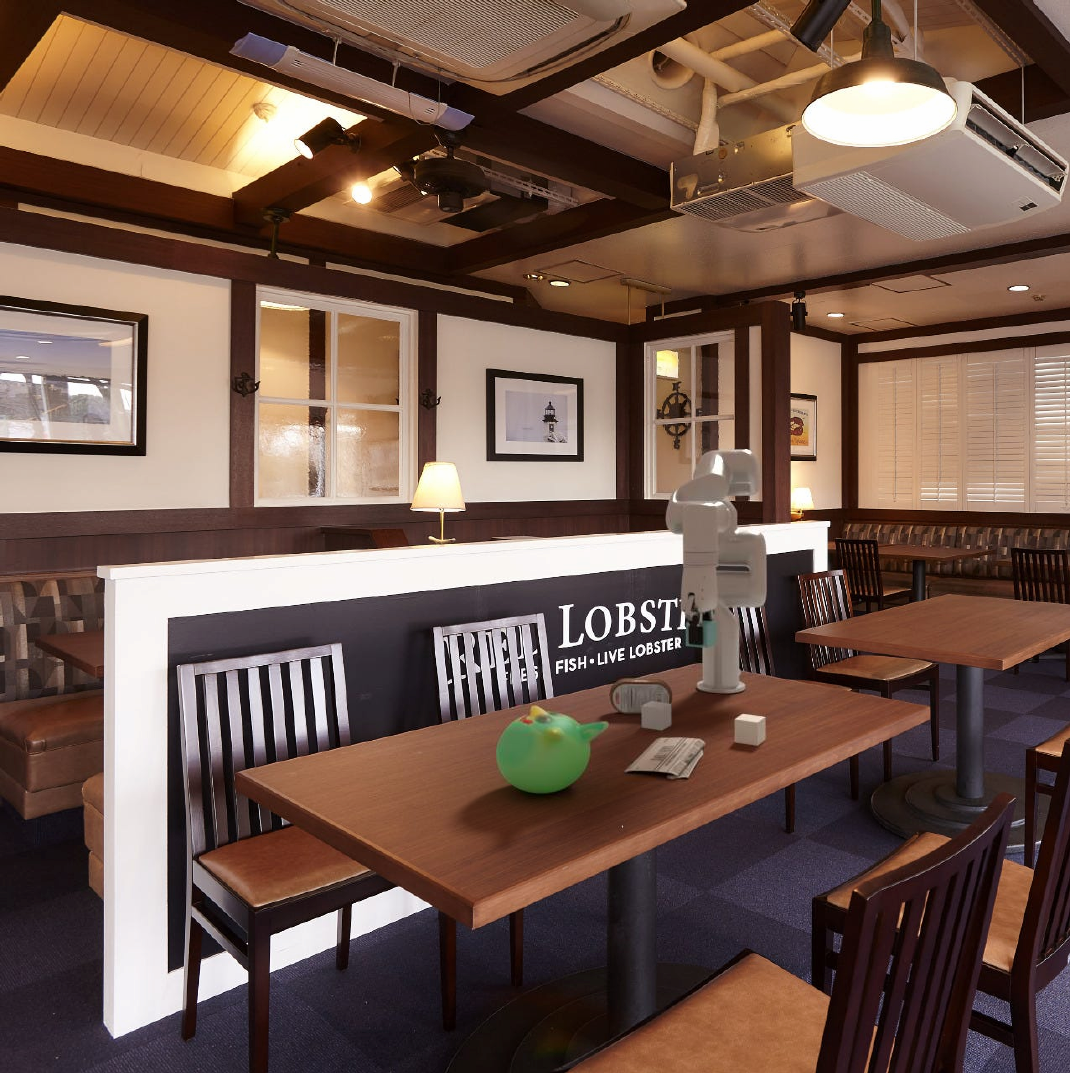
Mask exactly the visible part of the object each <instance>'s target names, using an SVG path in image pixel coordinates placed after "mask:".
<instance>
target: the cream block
mask: <svg viewBox="0 0 1070 1073" xmlns="http://www.w3.org/2000/svg"><path fill="white" fill-rule="evenodd" d="M766 720H767V719H766V716H761V715H752V714H745V713H742V714H740V715H739V716H737V717H736V718H735V719H734V743H738V744H745V745H751V746H757V747H758V746H759V745H760V744H762V743H763V742H764V741H766V734H767V732H766V730H767V729H766V722H767V721H766Z"/></svg>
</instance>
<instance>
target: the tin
mask: <svg viewBox="0 0 1070 1073" xmlns="http://www.w3.org/2000/svg"><path fill="white" fill-rule="evenodd" d="M609 700H610V703H611V706H612V708H613V709H614V710H616V711H617V712H619V713H621V714H623V715H642V709H641V706H642V705H644V704H646V703H649V702H651V701H654V702H661V703H669V704H671V705H672V702H673V692H672V688H671V687H670V685H669V684H668V683H667V682H666V681H664V680H662V679H659V678H631V677H630V678H629V677H628V678H627V677H626V678H621V679H619V680H617V681H615V682H614V683H613V685H611V687H610V690H609Z"/></svg>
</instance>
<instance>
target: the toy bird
mask: <svg viewBox="0 0 1070 1073" xmlns="http://www.w3.org/2000/svg"><path fill="white" fill-rule="evenodd" d="M529 712H530V713H527V714H525V715H523V716H520V717H518V718H516V719H515V720H514V721H512V722H511V723H510V724H509V725H508V726H507V727H506V728H505V729H504V731H503V733H502V734H501V735H500V737H499V739H498V742H497V745H496V751H495V759H496V763H497V767H498V769H499V771H500V774H501V775H502V776H503V777H504V779H505V780H506V781H507V782H508V783H509V784H510V785H512V786H513V787H515V788H517V789H518V790H521V791H524V792H526V793H532V794H551V793H555V792H558V791H562V790H564V789H566V788H567V787H570V786H571V785H572V784H574V782H576V781H577V780H578V779H579V778H580V777H581V776H582V775H583V773H584V772H585V770H586V768H587V766H588V764H589V762H590V761H589V760H590V756H591V741H592V740H594V739H595V738H597V736H599V735H601V734H603V732H604V731H605V730H607V729H608V727H609V725H610V724H609V722H608V721H598V722H591V723H586V724H580V723H579V722H577V721H576V720H575V719H574V718H572V717H571V716H568V715H566V714H564V713H560V712H555V711H546V710H544V709H543V708H541V707H539V706H538V705H531V707H530V709H529Z"/></svg>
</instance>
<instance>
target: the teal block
mask: <svg viewBox="0 0 1070 1073" xmlns="http://www.w3.org/2000/svg"><path fill="white" fill-rule="evenodd" d="M701 627H703V645H691V644H689V641H688V622H685V646H686V647H692V648H694V647H695V648H702V649H703V648H709V647H711V646H713V645H716V622H715V621H702V624H701Z"/></svg>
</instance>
